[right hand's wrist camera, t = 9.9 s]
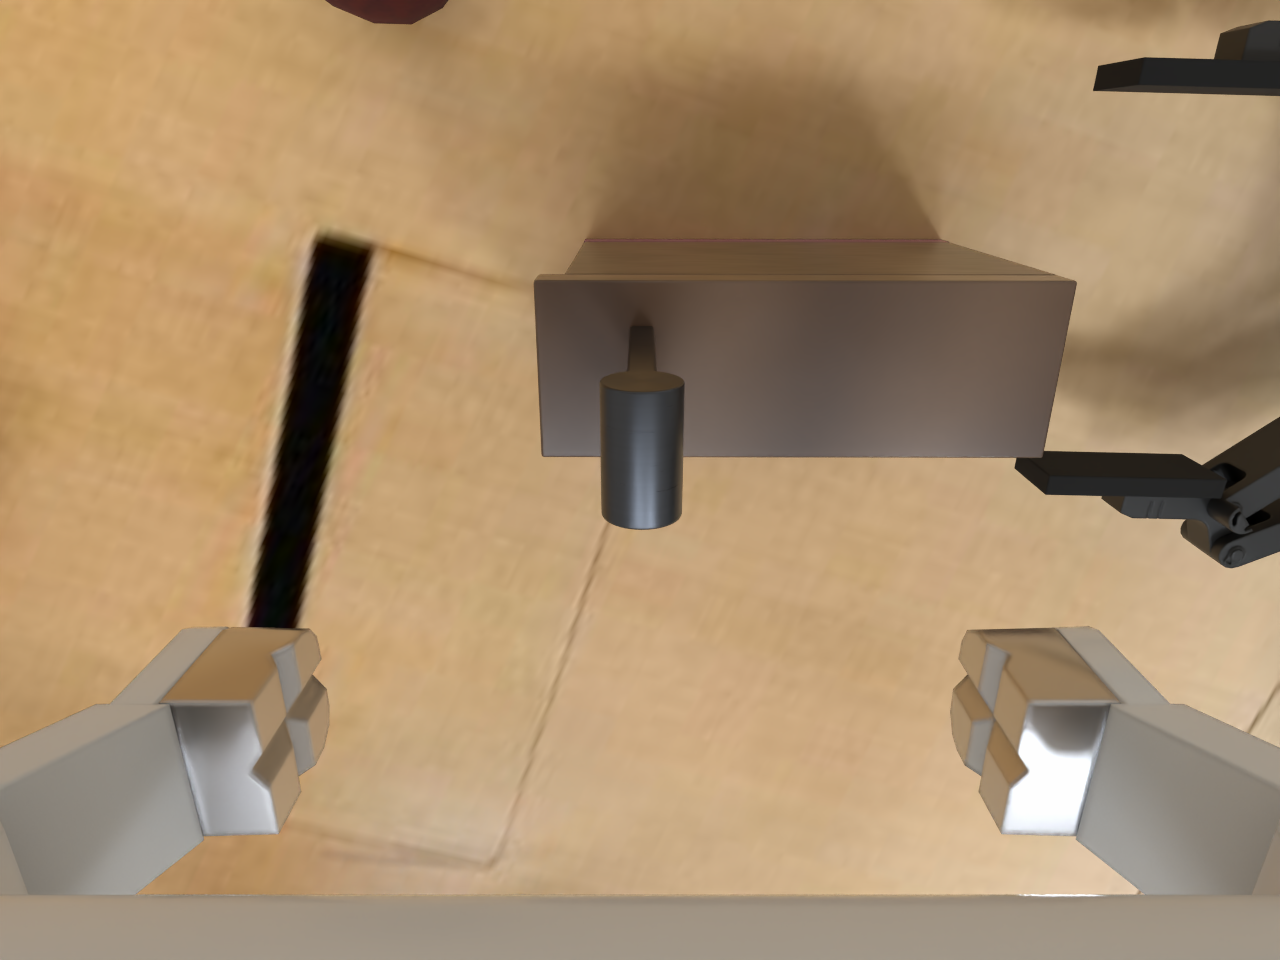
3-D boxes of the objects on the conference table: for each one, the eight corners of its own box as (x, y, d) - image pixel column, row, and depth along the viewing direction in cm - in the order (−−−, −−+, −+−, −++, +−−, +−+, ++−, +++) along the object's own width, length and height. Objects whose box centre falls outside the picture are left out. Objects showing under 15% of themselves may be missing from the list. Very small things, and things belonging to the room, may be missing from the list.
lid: (545, 444, 26) (503, 576, 18) (538, 273, 24) (486, 336, 16) (1025, 445, 26) (1198, 577, 18) (1057, 274, 24) (1267, 337, 16)
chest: (588, 366, 36) (569, 444, 26) (585, 239, 34) (564, 273, 24) (924, 367, 36) (1025, 445, 26) (941, 239, 34) (1057, 274, 24)
